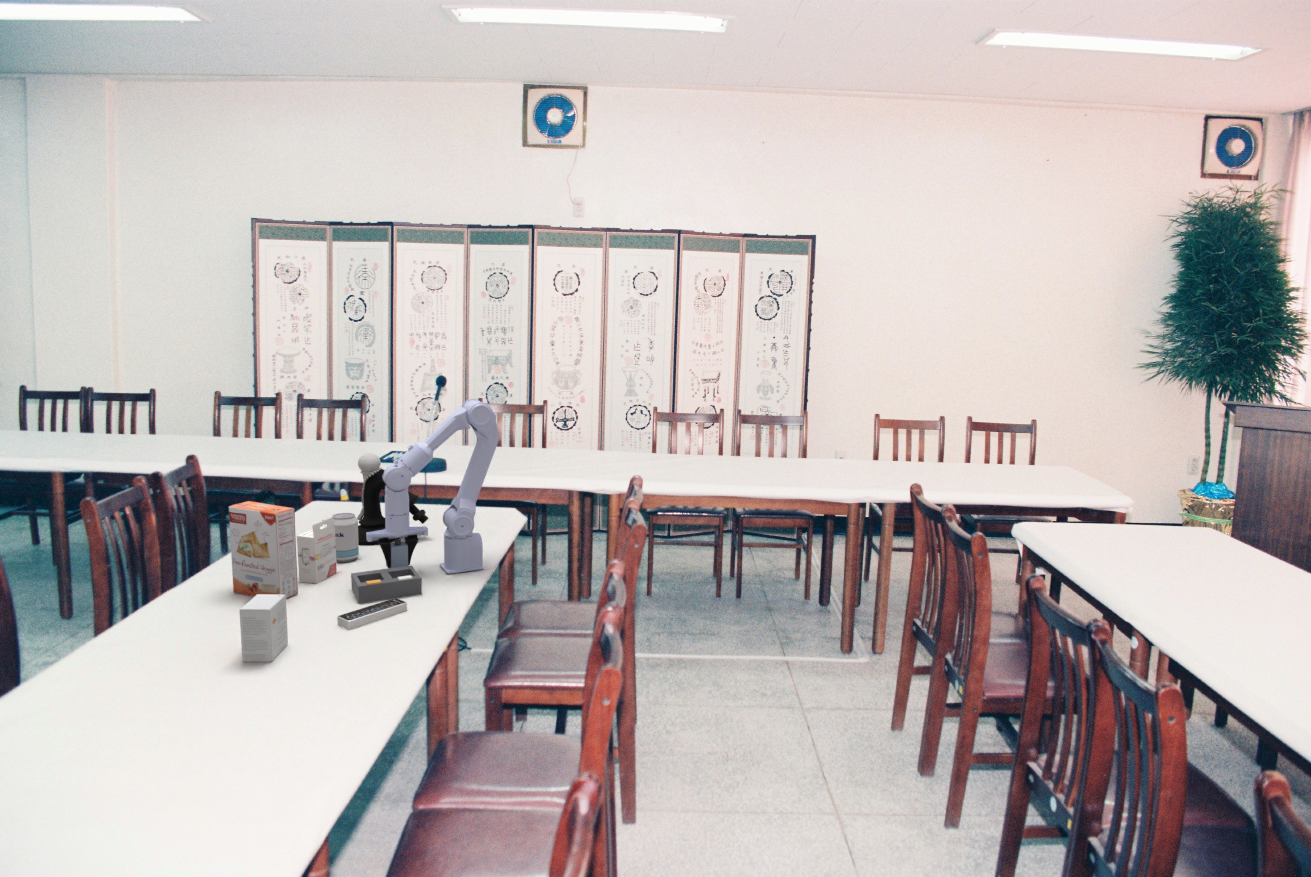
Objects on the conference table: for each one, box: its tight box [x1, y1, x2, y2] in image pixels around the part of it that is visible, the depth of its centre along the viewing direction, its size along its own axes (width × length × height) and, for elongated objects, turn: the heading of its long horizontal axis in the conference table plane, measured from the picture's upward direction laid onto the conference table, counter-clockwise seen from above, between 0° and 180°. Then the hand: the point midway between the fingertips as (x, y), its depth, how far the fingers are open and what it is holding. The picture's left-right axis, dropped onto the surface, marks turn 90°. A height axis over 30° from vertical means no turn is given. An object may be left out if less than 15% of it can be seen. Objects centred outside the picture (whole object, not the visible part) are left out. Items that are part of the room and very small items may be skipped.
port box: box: [350, 565, 423, 604], centre depth 181 cm, size 14×10×4 cm
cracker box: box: [228, 500, 299, 600], centre depth 176 cm, size 14×6×21 cm, turn 70°
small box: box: [239, 594, 289, 663], centre depth 147 cm, size 8×6×10 cm
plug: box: [390, 538, 408, 568], centre depth 193 cm, size 4×4×9 cm
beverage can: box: [331, 512, 360, 563], centre depth 203 cm, size 7×7×12 cm
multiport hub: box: [336, 598, 408, 631], centre depth 167 cm, size 4×14×2 cm, turn 144°
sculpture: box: [356, 452, 429, 547], centre depth 222 cm, size 15×24×25 cm, turn 88°
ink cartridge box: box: [296, 516, 338, 584], centre depth 189 cm, size 9×5×15 cm, turn 168°
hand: (398, 565), depth 193 cm, fingers closed on plug, 4 cm apart
